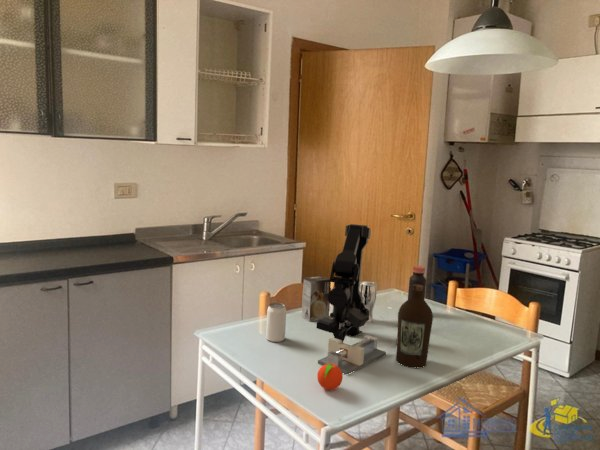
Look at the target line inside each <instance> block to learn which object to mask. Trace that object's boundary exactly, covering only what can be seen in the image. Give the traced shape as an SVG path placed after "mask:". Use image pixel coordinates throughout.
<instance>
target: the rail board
mask: <svg viewBox="0 0 600 450" xmlns="http://www.w3.org/2000/svg"><path fill="white" fill-rule="evenodd" d="M354 344H355V343H354ZM354 344H352V345H354ZM352 345H351V346H352ZM363 348H364V360H363V364H362V365H360V366H359V365H356V364H353V363H351V362H348V361H345V360H343V359H342V366H341V367H339V368H340V370H341V372H342V374H343V373H344V374H343V375H345V374H349V373H351V372H352V373H354V372H356V371H358V370H361V369H362V368H364V367H366V366H368V365H369V363H370V364H372V363H374V362H375V361H377V360H379V359H381V358H383V357H384V355H385V356H387V355H386V354H387V351H384V350H381V349H379V348H377V349H376V350H371V349H368V348H365V347H363ZM317 364H318V365H320V366H323V365H325V364H327V356H325V357H322V358H320V359H318V360H317ZM361 367H362V368H361ZM353 371H354V372H353ZM352 373H351V374H352ZM349 375H350V374H349Z"/></svg>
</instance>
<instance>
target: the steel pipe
mask: <svg viewBox="0 0 600 450" xmlns="http://www.w3.org/2000/svg"><path fill="white" fill-rule="evenodd" d="M378 340H379V339H378V338H377V337H374V336H371V335H365V336H363V340H361V341H359V342H356V343H354V345H357V346H360V347H362V348H363V347H365V348H368V349H371V350H376V349H378ZM347 353H348V350H347V349H342V350H341V351H339V352H333V351H330V352H328V351H327V356H326V357H327V364H328V363H331V364H335V365H336V366H338V367H341V366H342V357H344V356H347Z"/></svg>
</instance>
